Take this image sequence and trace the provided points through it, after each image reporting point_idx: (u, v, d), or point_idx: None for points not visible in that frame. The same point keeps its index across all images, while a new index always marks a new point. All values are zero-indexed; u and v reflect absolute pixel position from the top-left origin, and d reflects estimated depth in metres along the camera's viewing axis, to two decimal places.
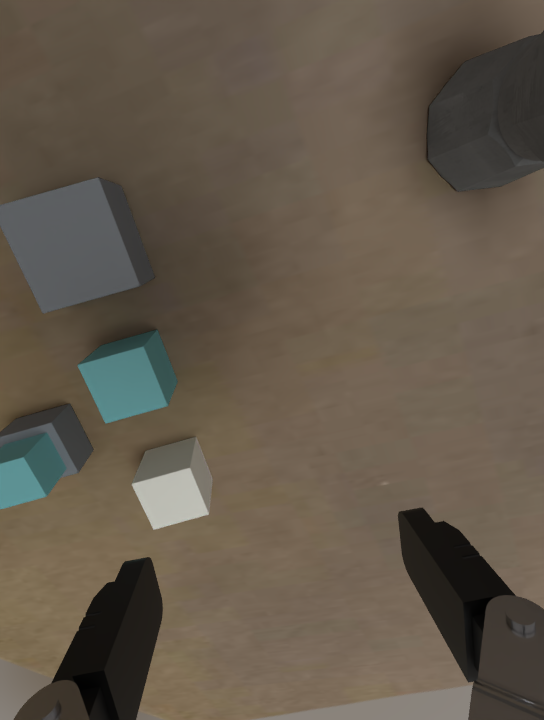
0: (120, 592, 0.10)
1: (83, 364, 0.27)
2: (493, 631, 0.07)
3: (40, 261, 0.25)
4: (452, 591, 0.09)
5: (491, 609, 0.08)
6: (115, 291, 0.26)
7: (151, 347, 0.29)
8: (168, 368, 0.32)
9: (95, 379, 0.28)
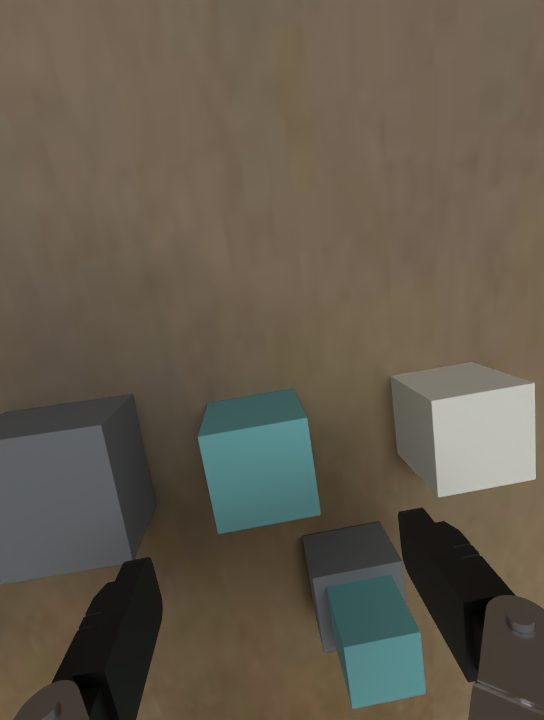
0: (120, 592, 0.10)
1: (218, 526, 0.18)
2: (493, 631, 0.07)
3: (57, 548, 0.17)
4: (451, 591, 0.09)
5: (491, 610, 0.08)
6: (107, 461, 0.17)
7: (213, 421, 0.18)
8: (263, 400, 0.20)
9: (245, 515, 0.18)
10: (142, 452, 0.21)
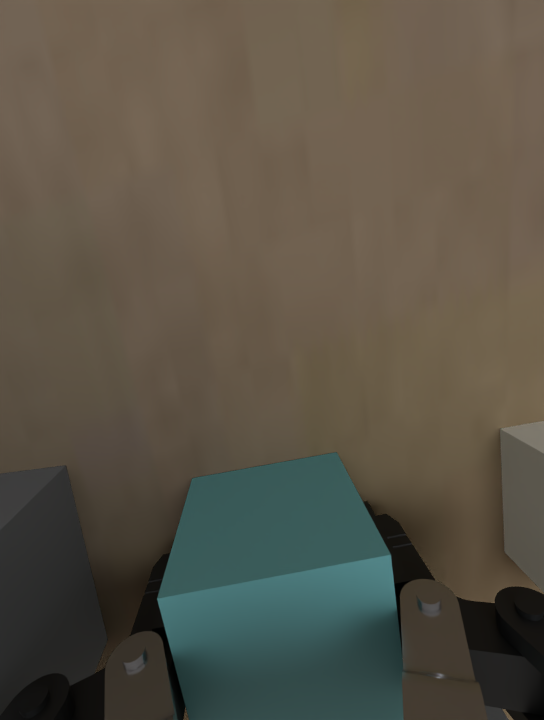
0: None
1: None
2: (403, 610, 0.08)
3: None
4: None
5: (404, 597, 0.08)
6: None
7: (196, 541, 0.09)
8: (289, 481, 0.11)
9: None
10: (81, 563, 0.13)
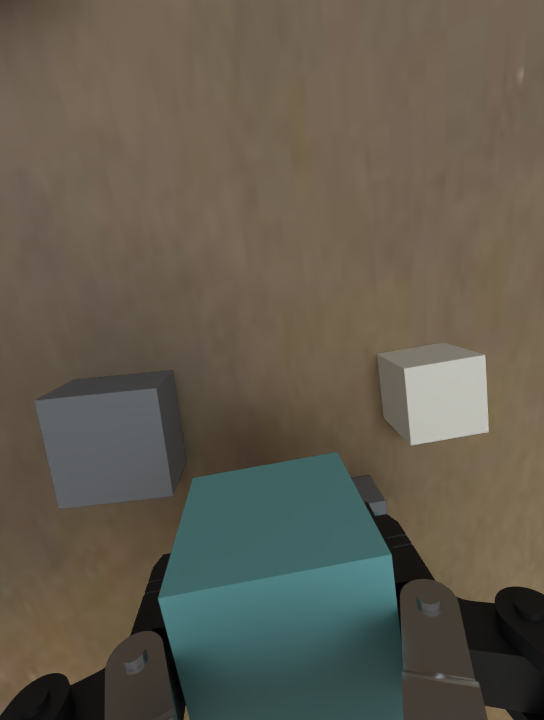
0: None
1: None
2: (403, 610, 0.08)
3: (117, 481, 0.23)
4: None
5: (405, 596, 0.08)
6: (158, 416, 0.22)
7: (197, 541, 0.09)
8: (290, 481, 0.11)
9: None
10: (178, 417, 0.27)
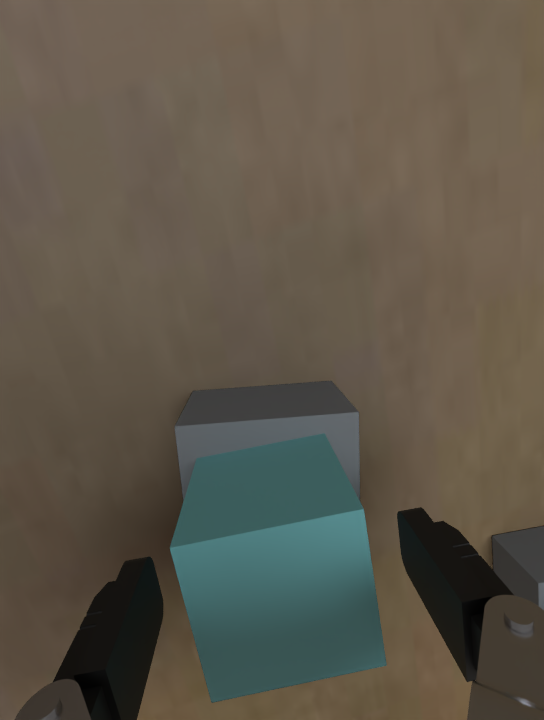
0: (121, 592, 0.10)
1: (211, 689, 0.10)
2: (492, 630, 0.07)
3: None
4: (450, 591, 0.09)
5: (490, 609, 0.08)
6: (356, 454, 0.15)
7: (201, 506, 0.11)
8: (282, 458, 0.13)
9: (257, 671, 0.10)
10: None
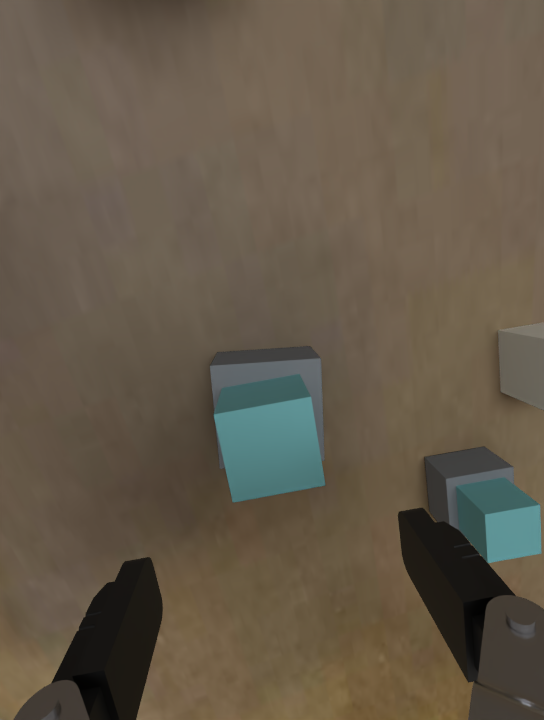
0: (120, 592, 0.10)
1: (232, 495, 0.20)
2: (493, 631, 0.07)
3: None
4: (451, 591, 0.09)
5: (491, 610, 0.08)
6: (320, 384, 0.24)
7: (227, 402, 0.20)
8: (272, 384, 0.22)
9: (256, 485, 0.20)
10: None
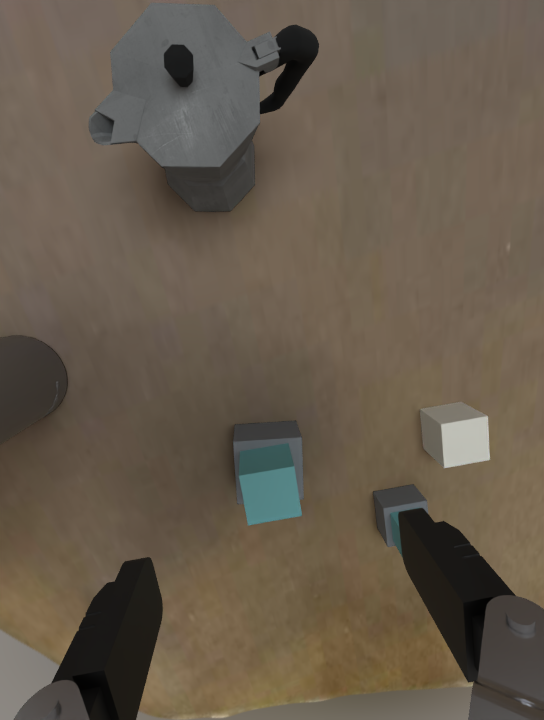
0: (120, 592, 0.10)
1: (248, 520, 0.34)
2: (493, 631, 0.07)
3: None
4: (451, 591, 0.09)
5: (491, 610, 0.08)
6: (301, 453, 0.39)
7: (245, 466, 0.35)
8: (272, 451, 0.37)
9: (262, 515, 0.34)
10: None
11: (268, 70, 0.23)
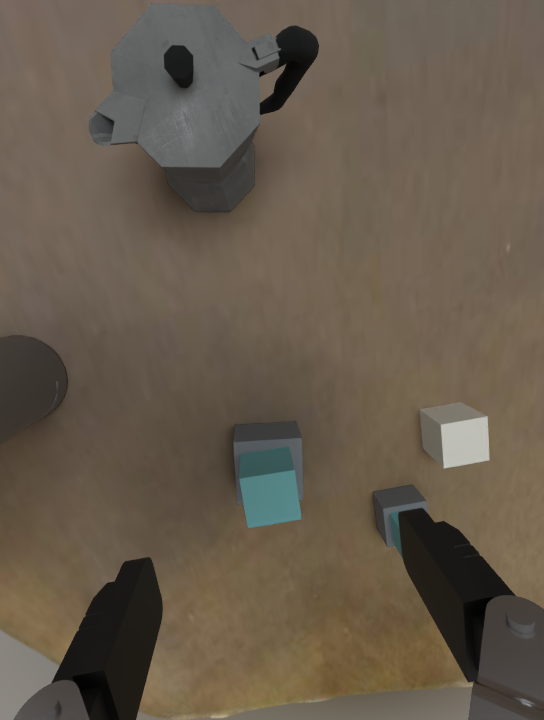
0: (120, 592, 0.10)
1: (248, 523, 0.34)
2: (493, 631, 0.07)
3: None
4: (452, 591, 0.09)
5: (491, 610, 0.08)
6: (301, 453, 0.39)
7: (246, 469, 0.35)
8: (272, 455, 0.37)
9: (262, 518, 0.34)
10: None
11: (268, 71, 0.23)
